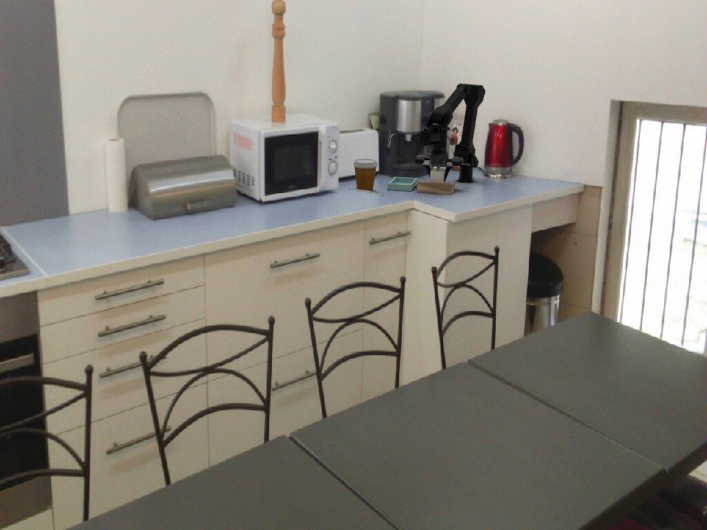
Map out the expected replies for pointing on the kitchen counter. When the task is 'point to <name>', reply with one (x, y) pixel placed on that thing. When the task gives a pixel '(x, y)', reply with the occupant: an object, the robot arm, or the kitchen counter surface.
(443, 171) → the white handled drawer
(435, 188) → the bay
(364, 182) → the disposable coffee cup
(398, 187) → the tray
